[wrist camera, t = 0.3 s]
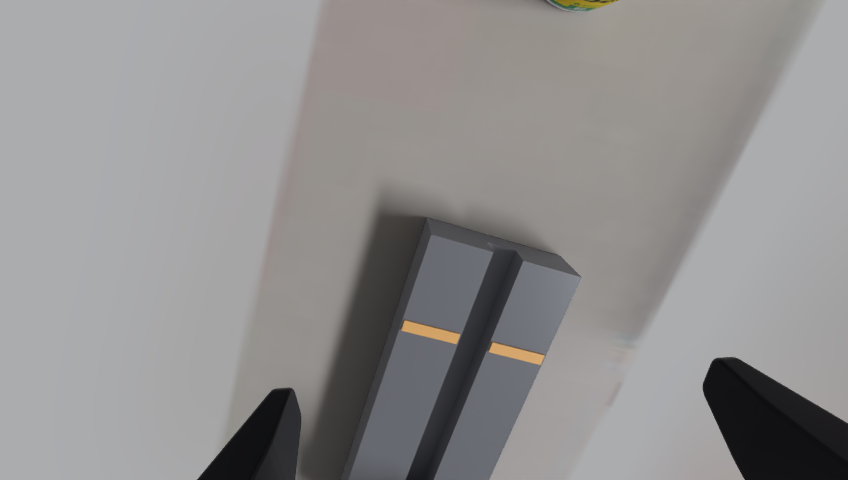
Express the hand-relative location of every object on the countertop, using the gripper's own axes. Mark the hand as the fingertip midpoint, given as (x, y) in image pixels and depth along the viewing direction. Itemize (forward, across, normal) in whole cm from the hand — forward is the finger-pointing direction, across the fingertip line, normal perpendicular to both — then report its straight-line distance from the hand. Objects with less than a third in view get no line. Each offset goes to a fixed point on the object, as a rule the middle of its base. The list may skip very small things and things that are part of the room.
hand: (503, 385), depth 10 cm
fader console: (+12, +1, +14) cm, 19 cm away
